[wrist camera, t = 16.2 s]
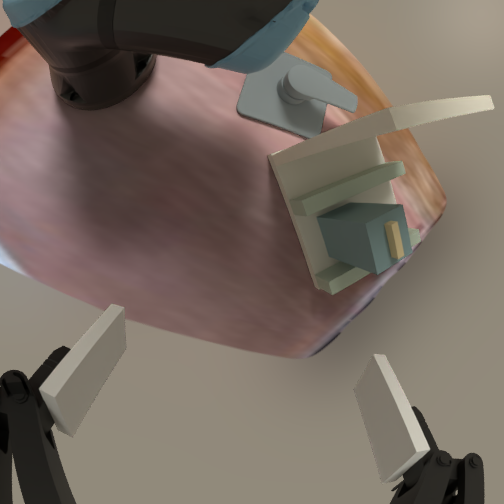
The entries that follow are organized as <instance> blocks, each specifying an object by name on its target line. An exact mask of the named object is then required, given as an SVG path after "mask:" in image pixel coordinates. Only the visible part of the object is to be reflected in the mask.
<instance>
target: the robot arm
mask: <svg viewBox="0 0 504 504" xmlns="http://www.w3.org/2000/svg"><path fill="white" fill-rule="evenodd" d="M318 1H319V0H3V9H4V11H5V12H6V14H7V16H8V18H9V19H10V21H11V25H12V26H13V27H14V28H15V27H16V28H17V29H18V30H19V31H20V32H21V34H22V35H23V36H24V37H25V38H26V39H27V40H28V42H29V43H30V44H31V45H32V46H33V47H34V48H35V50H36V51H37V52H38V53H39V54H40V55H41V56H42V57H43V59H44V60H45V61H46V62H47V63H48V64H49V69H50V76H51V82H52V85H53V88H54V90H55V92H56V93H57V94H58V96H59V97H60V98H61V99H62V100H63V101H65V102H66V103H67V104H68V105H70V106H72V107H74V108H77V109H82V110H97V109H102V108H106V107H109V106H112V105H114V104H116V103H118V102H120V101H122V100H124V99H125V98H127V97H128V96H130V95H131V94H133V93H134V92H135V91H136V90H137V89H138V88H139V87H140V86H141V85H142V84H143V83H144V82H145V80H146V79H147V78H148V76H149V75H150V73H151V71H152V69H153V67H154V64H155V60H156V55H162V56H167V57H173V58H178V59H184V60H188V61H193V62H198V63H202V64H205V66H206V67H208V68H222V69H226V70H231V71H235V72H239V73H243V74H250V73H254V72H258V71H261V70H263V69H265V68H267V67H268V66H269V65H271V64H272V63H273V62H274V61H275V60H276V59H277V58H278V57H279V56H280V55H281V54H282V53H283V52H284V51H285V50H286V49H287V48H288V46H289V45H290V44H291V43H292V42H293V40H294V39H295V38H296V36H297V35H298V34H299V32H300V31H301V30H302V28H303V27H304V25H305V24H306V22H307V21H308V19H309V17H310V16H309V13H310V12H311V11H312V10H313V9H314V8H315V7H316V5H317V3H318ZM125 350H126V336H125V307H122V306H118V305H115V304H111V305H110V306H109V307H108V308H107V309H106V310H105V311H104V312H103V313H102V315H101V316H100V317H99V318H98V319H97V320H96V321H95V322H94V323H93V325H92V326H91V327H90V328H89V329H88V330H87V332H85V334H84V335H83V336H82V337H81V338H80V339H79V340H78V342H77V343H76V344H75V345H74V346H73V347H72V349H69V348H67V347H65V346H62V347H60V348H58V349H56V350H55V351H53V353H52V354H51V355H50V356H49V357H48V359H46V360H45V362H44V363H43V365H41V366H40V367H39V369H38V370H37V371H36V372H35V373H34V374H33V376H32V377H31V378H30V379H29V380H28V379H27V376H26V375H25V374H24V373H23V372H20V371H18V370H10V371H7V372H6V373H4V374H3V375H2V376H1V378H0V386H1V387H0V504H13V501H12V453H13V458H14V463H15V468H16V472H17V477H18V481H19V485H20V488H21V492H22V495H23V499H24V502H25V504H76V502H75V500H74V497H73V495H72V492H71V490H70V487H69V484H68V482H67V479H66V476H65V473H64V470H63V467H62V464H61V461H60V458H59V454H58V451H57V447H56V444H55V440H54V436H53V432H52V430H51V427H52V426H53V424H54V423H55V425H56V427H57V429H58V430H59V431H61V432H63V433H65V434H67V435H69V436H71V437H73V436H74V434H75V433H76V431H77V429H78V427H79V425H80V424H81V422H82V420H83V419H84V417H85V415H86V413H87V411H88V410H89V408H90V407H91V405H92V403H93V401H94V400H95V398H96V396H97V395H98V393H99V391H100V390H101V388H102V386H103V385H104V383H105V382H106V380H107V378H108V377H109V375H110V373H111V372H112V370H113V369H114V367H115V365H116V364H117V362H118V361H119V359H120V357H121V356H122V354H123V353H124V351H125ZM354 392H355V395H356V398H357V402H358V405H359V408H360V411H361V414H362V417H363V420H364V424H365V427H366V430H367V434H368V436H369V440H370V443H371V447H372V450H373V454H374V457H375V461H376V464H377V468H378V472H379V475H380V479H381V483H388V482H393V481H396V480H397V479H398V478H399V477H401V476H402V475H403V478H404V480H403V481H402V482H400V483H399V484H398V485H397V486H395V487H394V488H393V489H392V490H391V491H394V490H396V489H397V488H398V489H397V491H396V493H395V495H394V497H393V499H392V501H391V502H390V504H484V470H483V462H482V459H481V457H480V456H479V455H477V454H475V453H469V454H467V455H466V456H465V457H464V458H463V459H453V458H452V457H451V456H450V454H449V453H447V452H446V451H442V450H439V449H438V447H437V445H436V442H435V440H434V438H433V436H432V434H431V432H430V430H429V428H428V425H427V423H426V422H425V419H424V417H423V415H422V413H421V412H420V411H419V410H418V409H417V408H416V407H415V406H414V407H411V406H410V404H409V402H408V400H407V398H406V396H405V394H404V391H403V389H402V388H401V385H400V384H399V382H398V380H397V378H396V376H395V374H394V372H393V370H392V368H391V366H390V364H389V362H388V361H387V358H386V356H385V355H379V354H373V355H372V357H371V359H370V361H369V363H368V365H367V367H366V368H365V370H364V372H363V374H362V376H361V377H360V379H359V381H358V383H357V384H356V386H355V388H354ZM456 490H458V494H457V495H455V491H456Z"/></svg>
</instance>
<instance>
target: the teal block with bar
mask: <svg viewBox="0 0 504 504" xmlns="http://www.w3.org/2000/svg"><path fill="white" fill-rule="evenodd" d="M316 218H317V221H318V224H319V227H320V230H321V233H322V236H323V239H324V243H325V246H326V249H327V252H328V256H329V257H331V258H334V259H336V260H339V261H342V262H344V263H347V264H350V265H352V266H355V267H358V268H360V269H363V270H366V271H368V272H371V273H374V274H376V275H378V274H380V273H381V272H383V271H385V270H386V269H388V268H389V267H391V266H392V265H394V264H396V263H397V262H399V261H400V260H402V259H403V258H405V257H406V256H408V255H409V254H411V253H412V248H411V242H410V237H409V232H408V227H407V222H406V217H405V213H404V208H403V205H401V204H382V203H357V202H349V203H347V204H345V205H343V206H340V207H338V208H336V209H334V210H331V211H329V212H327V213H325V214H322V215H320V216H318V217H316Z"/></svg>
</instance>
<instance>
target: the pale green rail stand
mask: <svg viewBox="0 0 504 504" xmlns="http://www.w3.org/2000/svg"><path fill="white" fill-rule="evenodd" d="M491 109H494V105H493V102H492V99H491V96H490V95H485V96H470V97H459V98H450V99H442V100H433V101H426V102H419V103H413V104H407V105H401V106H395V107H390V108H386V109H383V110H381V111H378V112H375V113H372V114H370V115H367V116H364V117H362V118H359V119H356V120H354V121H351V122H349V123H346V124H344V125H341V126H339V127H336V128H334V129H331V130H329V131H326V132H324V133H322V134H319V135H317V136H315V137H312V138H310V139H308V140H305V141H303V142H301V143H298V144H296V145H294V146H292V147H289V148H287V149H284V150H281V151H278V152H275V153H272V154H270V155H268V158H269V161H270V164H271V166H272V169H273V171H274V174H275V176H276V179H277V182H278V184H279V187H280V190H281V192H282V195H283V198H284V200H285V203H286V206H287V208H288V211H289V214H290V217H291V219H292V222H293V225H294V228H295V231H296V233H297V236H298V239H299V242H300V245H301V248H302V251H303V253H304V256H305V259H306V262H307V265H308V268H309V271H310V274H311V277H312V280H313V283H314V286H315V288H317V289H319V290H320V289H323V290H324V291H326V292H328V293H329V294H331V295H334V294H336V293H337V292H339V291H341V290H343V289H344V288H346V287H348V286H350V285H351V284H353V283H355V282H356V281H358V280H360V279H362V278H363V277H365V276H367V275H368V274H370V273H371V272H368V271H366V270H363V269H360V268H358V267H355V266H352V265H350V264H347V263H344V262H342V261H339V260H336V259H334V258H331V257H329V256H328V252H327V249H326V246H325V243H324V239H323V236H322V233H321V230H320V227H319V224H318V221H317V218H316V217H318V216H320V215H322V214H325V213H327V212H329V211H331V210H334V209H336V208H338V207H340V206H343V205H345V204H347V203H349V202H357V203H382V204H396V200H395V196H394V192H393V188H392V185H391V181H390V180H392V179H394V178H396V177H398V176H401V175H403V174H405V169H404V166H403V162H402V161H394V162H386V163H385V161H384V158H383V155H382V152H381V149H380V146H379V143H378V140H377V137H376V136H378V135H382V134H386V133H390V132H394V131H398V130H402V129H405V128H409V127H413V126H417V125H421V124H425V123H429V122H433V121H437V120H441V119H446V118H451V117H455V116H460V115H464V114H470V113H475V112H480V111H485V110H491ZM408 232H409V237H410V242H411V247H413V246H414V245H416V244H417V243H419V242H420V241H421V239H420V234H419V229H413V228H408Z"/></svg>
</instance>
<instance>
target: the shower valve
mask: <svg viewBox="0 0 504 504" xmlns="http://www.w3.org/2000/svg"><path fill="white" fill-rule="evenodd" d="M327 104H330V105H333V106H336V107H338V108H341V109H344V110H346V111H349V112H352V113H354V112H355V110H356V108H357V96H356V95H354V94H353V93H351V92H350V91H348V90H347V89H345V88H344V87H342V86H340V85H339V84H337V83H336V82H334V81H332V75H331V74H330V73H329V72H328V71H326V70H324V69H322V68H320V67H318V66H316V65H314V64H311V63H309V62H307V61H305V60H302V59H300V58H298V57H295V56H293V55H290V54H288V53H285V52H283V53H282V54H281V55H280V56H279V57H278V58H277V59H276V60H275V61H274V62H273V63H272V64H271V65H269V66H268V67H267V68H265V69H263V70H261V71H258V72H254V73H250V74H247V76H246V79H245V82H244V85H243V88H242V91H241V94H240V97H239V100H238V103H237V112H238V113H239V114H241V115H243V116H246V117H249V118H253V119H256V120H259V121H262V122H265V123H267V124H270V125H273V126H276V127H279V128H282V129H284V130H287V131H290V132H292V133H295V134H297V135H300V136H303V137H305V138H308V139H310V138H312V137H315V136H317V135H319V134H320V133H321V129H322V124H323V120H324V115H325V111H326V106H327Z"/></svg>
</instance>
